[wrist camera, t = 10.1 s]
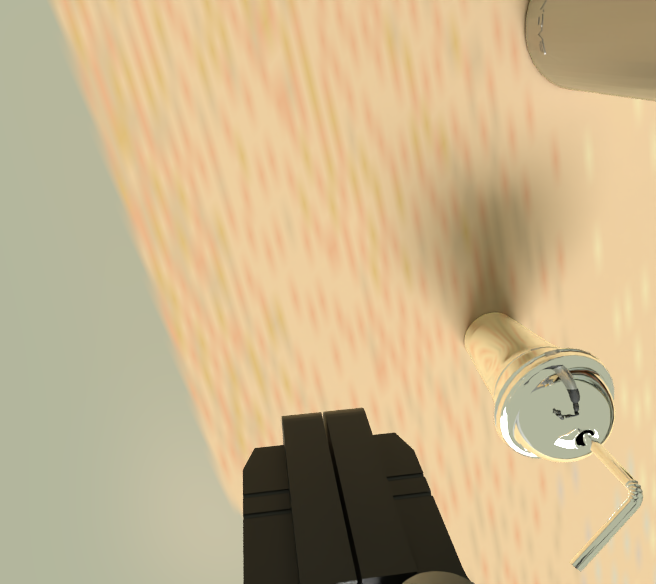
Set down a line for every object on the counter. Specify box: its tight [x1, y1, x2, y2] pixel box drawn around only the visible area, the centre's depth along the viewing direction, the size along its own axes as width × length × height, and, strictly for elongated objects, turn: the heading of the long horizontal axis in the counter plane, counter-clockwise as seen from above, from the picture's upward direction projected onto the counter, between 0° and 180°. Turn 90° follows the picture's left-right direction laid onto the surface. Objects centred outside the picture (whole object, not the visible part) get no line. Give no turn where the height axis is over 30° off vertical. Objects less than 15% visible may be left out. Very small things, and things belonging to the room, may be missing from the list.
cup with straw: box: [464, 312, 643, 571], centre depth 39 cm, size 8×9×20 cm
